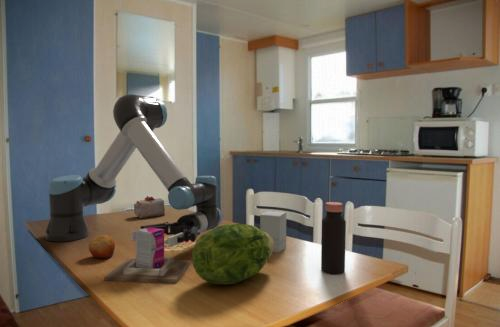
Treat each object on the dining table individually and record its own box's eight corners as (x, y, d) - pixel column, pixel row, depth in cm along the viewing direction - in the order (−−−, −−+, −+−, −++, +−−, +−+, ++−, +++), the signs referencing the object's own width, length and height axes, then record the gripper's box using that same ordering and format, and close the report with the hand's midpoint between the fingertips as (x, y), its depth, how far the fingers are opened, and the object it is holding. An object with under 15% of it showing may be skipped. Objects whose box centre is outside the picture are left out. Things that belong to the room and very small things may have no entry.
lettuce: (288, 273, 113) (289, 220, 112) (220, 300, 94) (220, 237, 93) (251, 261, 124) (251, 213, 123) (182, 284, 104) (182, 227, 103)
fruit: (124, 248, 132) (115, 231, 128) (111, 267, 126) (101, 249, 121) (104, 246, 135) (95, 229, 130) (90, 264, 128) (80, 247, 124)
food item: (139, 219, 185) (139, 198, 184) (133, 216, 191) (132, 196, 190) (166, 216, 193) (166, 196, 192) (159, 213, 199) (159, 194, 199)
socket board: (104, 280, 107) (104, 271, 107) (127, 261, 123) (127, 253, 123) (176, 283, 105) (176, 273, 105) (190, 263, 121) (190, 255, 121)
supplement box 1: (150, 273, 110) (150, 232, 109) (135, 269, 113) (135, 230, 112) (165, 267, 115) (164, 228, 114) (150, 263, 118) (149, 226, 117)
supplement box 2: (286, 247, 140) (287, 212, 139) (279, 253, 133) (279, 216, 132) (267, 244, 143) (267, 210, 142) (259, 250, 136) (259, 214, 135)
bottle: (340, 276, 111) (341, 206, 110) (317, 272, 115) (318, 203, 113) (347, 269, 117) (349, 202, 115) (326, 265, 120) (327, 200, 119)
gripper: (223, 240, 128) (185, 258, 108) (162, 231, 138) (117, 246, 119) (223, 217, 127) (185, 231, 108) (161, 210, 138) (117, 222, 119)
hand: (149, 239), depth 114 cm, fingers open, 13 cm apart
